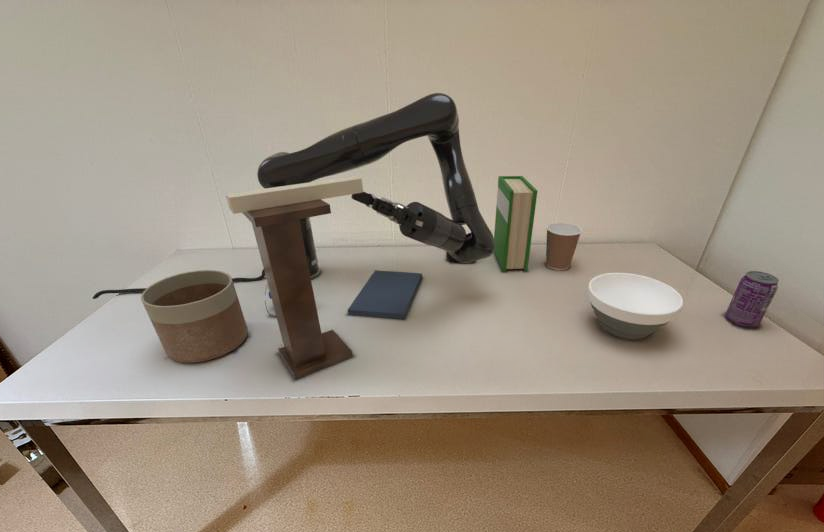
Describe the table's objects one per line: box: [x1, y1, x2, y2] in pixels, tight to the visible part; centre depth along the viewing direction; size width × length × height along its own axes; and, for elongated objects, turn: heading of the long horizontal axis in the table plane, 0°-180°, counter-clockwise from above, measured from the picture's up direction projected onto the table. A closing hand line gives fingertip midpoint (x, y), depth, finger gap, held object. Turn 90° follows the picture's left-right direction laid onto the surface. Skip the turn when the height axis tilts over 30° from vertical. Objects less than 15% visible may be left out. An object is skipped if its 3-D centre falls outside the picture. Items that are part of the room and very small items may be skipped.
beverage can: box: [724, 270, 780, 328], centre depth 91 cm, size 7×7×12 cm
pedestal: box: [242, 199, 354, 381], centre depth 73 cm, size 12×10×32 cm
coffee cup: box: [545, 222, 583, 271], centre depth 118 cm, size 10×10×12 cm
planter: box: [140, 269, 249, 363], centre depth 82 cm, size 16×16×14 cm
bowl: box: [587, 272, 684, 340], centre depth 89 cm, size 20×20×10 cm
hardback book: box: [493, 175, 538, 273], centre depth 118 cm, size 18×7×24 cm, turn 4°
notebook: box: [347, 269, 423, 320], centre depth 104 cm, size 14×22×2 cm, turn 172°
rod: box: [225, 175, 364, 215], centre depth 66 cm, size 22×2×2 cm, turn 127°
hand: (363, 198), depth 73 cm, fingers open, 8 cm apart
